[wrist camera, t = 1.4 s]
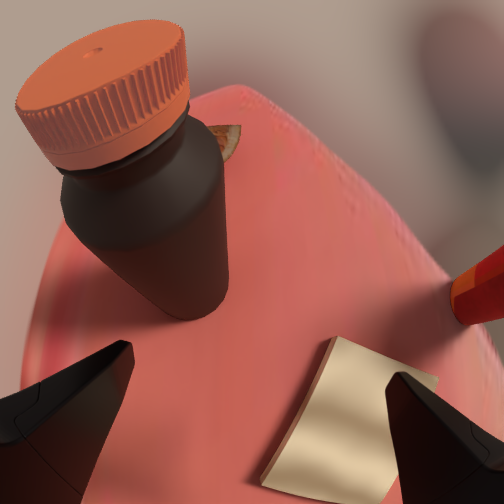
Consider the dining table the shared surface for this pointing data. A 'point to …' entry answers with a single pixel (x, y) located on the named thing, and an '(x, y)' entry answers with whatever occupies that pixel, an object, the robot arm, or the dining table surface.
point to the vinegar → (135, 162)
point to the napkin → (342, 430)
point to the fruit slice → (226, 138)
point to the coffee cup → (480, 291)
